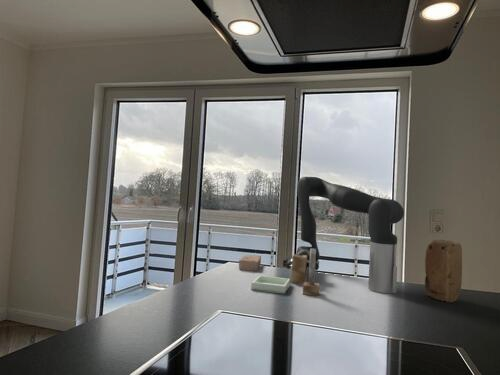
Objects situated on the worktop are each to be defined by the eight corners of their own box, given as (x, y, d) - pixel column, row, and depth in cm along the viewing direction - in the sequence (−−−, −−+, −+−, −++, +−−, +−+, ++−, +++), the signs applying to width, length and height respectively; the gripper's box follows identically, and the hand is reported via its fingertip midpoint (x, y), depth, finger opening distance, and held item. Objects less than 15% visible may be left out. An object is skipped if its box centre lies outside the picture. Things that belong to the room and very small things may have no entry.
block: (463, 303, 119) (465, 242, 119) (446, 304, 116) (449, 242, 117) (436, 294, 129) (438, 238, 129) (420, 295, 126) (422, 238, 127)
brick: (243, 263, 169) (243, 253, 169) (261, 264, 168) (261, 254, 168) (238, 270, 152) (238, 259, 153) (257, 272, 151) (258, 261, 152)
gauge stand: (318, 292, 123) (321, 248, 123) (317, 296, 118) (320, 250, 119) (304, 290, 124) (306, 247, 125) (302, 294, 120) (304, 249, 120)
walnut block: (305, 281, 138) (307, 255, 138) (304, 284, 133) (305, 257, 134) (293, 279, 140) (294, 254, 140) (291, 282, 135) (292, 255, 135)
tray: (290, 285, 130) (290, 278, 130) (284, 293, 119) (285, 286, 119) (259, 282, 133) (259, 275, 133) (251, 289, 122) (251, 282, 122)
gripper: (287, 249, 152) (280, 255, 137) (321, 252, 149) (318, 259, 133) (286, 267, 152) (279, 275, 136) (320, 270, 148) (317, 279, 133)
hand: (298, 267), depth 135 cm, fingers open, 7 cm apart
